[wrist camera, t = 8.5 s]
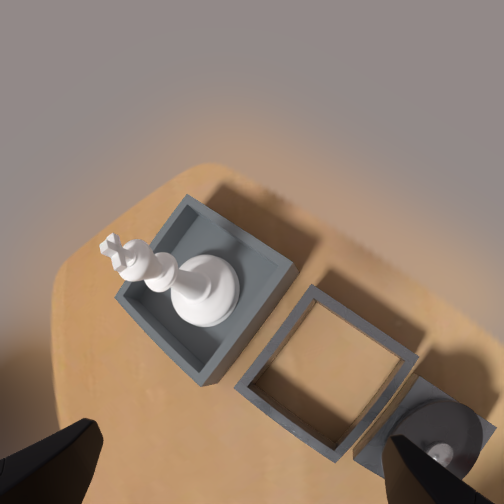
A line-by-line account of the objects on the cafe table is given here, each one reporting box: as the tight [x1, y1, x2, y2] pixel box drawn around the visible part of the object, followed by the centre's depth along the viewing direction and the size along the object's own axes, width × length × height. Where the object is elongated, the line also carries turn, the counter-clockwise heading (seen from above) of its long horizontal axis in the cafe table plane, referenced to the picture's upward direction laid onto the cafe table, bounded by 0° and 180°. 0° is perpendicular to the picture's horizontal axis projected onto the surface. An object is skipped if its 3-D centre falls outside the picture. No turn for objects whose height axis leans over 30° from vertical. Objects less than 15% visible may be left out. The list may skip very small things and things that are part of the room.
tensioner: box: [234, 284, 497, 480], centre depth 14 cm, size 15×8×4 cm, turn 52°
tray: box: [114, 194, 300, 387], centre depth 20 cm, size 9×9×2 cm
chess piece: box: [99, 233, 240, 327], centre depth 16 cm, size 5×5×10 cm
